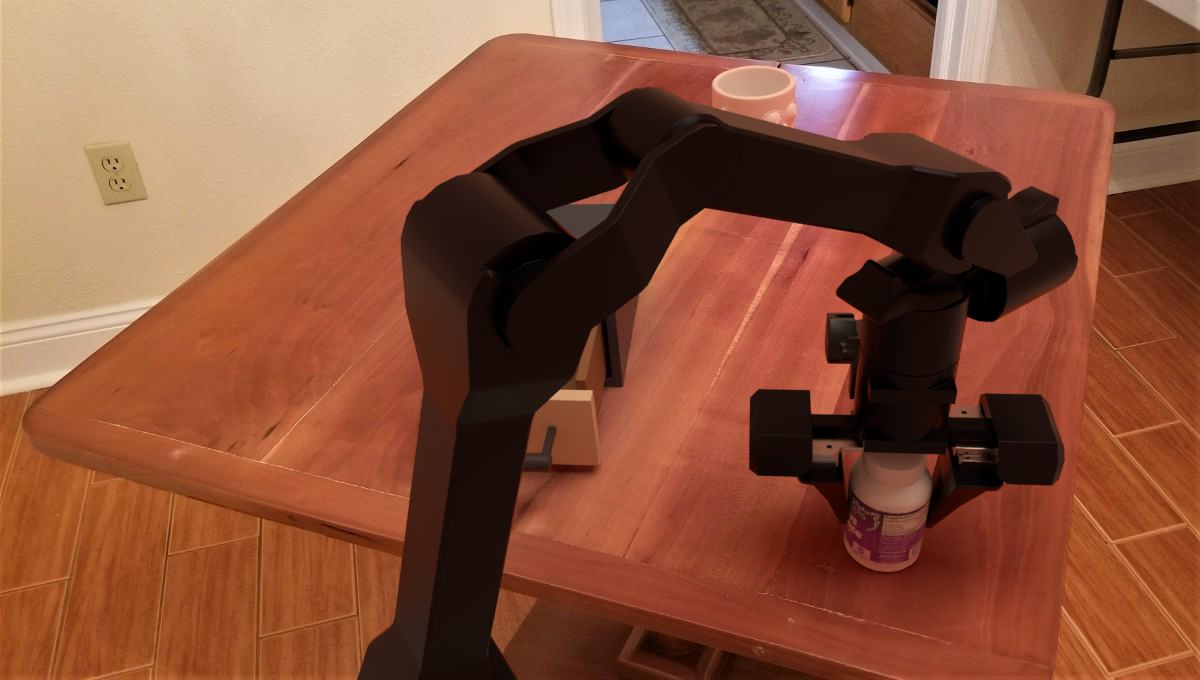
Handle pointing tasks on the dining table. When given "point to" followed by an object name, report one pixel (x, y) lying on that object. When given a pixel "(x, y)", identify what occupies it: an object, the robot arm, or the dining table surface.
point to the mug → (757, 93)
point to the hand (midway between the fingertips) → (885, 521)
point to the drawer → (572, 413)
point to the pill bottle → (887, 509)
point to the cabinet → (622, 320)
